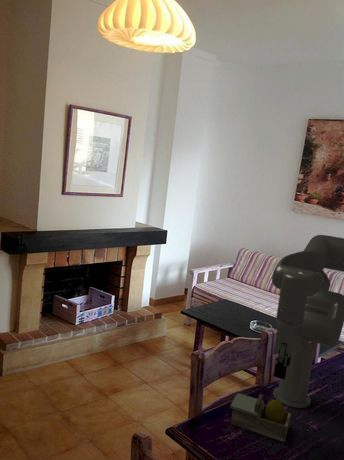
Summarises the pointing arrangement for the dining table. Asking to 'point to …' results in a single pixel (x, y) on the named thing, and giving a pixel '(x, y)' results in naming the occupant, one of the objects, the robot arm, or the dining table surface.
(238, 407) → the cover
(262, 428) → the beige box
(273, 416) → the lemon
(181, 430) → the dining table surface
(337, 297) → the robot arm
